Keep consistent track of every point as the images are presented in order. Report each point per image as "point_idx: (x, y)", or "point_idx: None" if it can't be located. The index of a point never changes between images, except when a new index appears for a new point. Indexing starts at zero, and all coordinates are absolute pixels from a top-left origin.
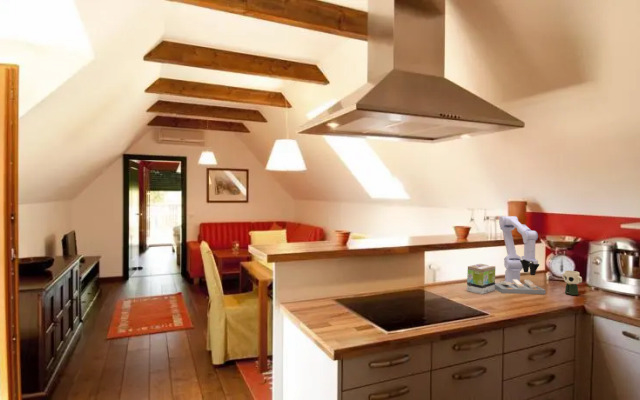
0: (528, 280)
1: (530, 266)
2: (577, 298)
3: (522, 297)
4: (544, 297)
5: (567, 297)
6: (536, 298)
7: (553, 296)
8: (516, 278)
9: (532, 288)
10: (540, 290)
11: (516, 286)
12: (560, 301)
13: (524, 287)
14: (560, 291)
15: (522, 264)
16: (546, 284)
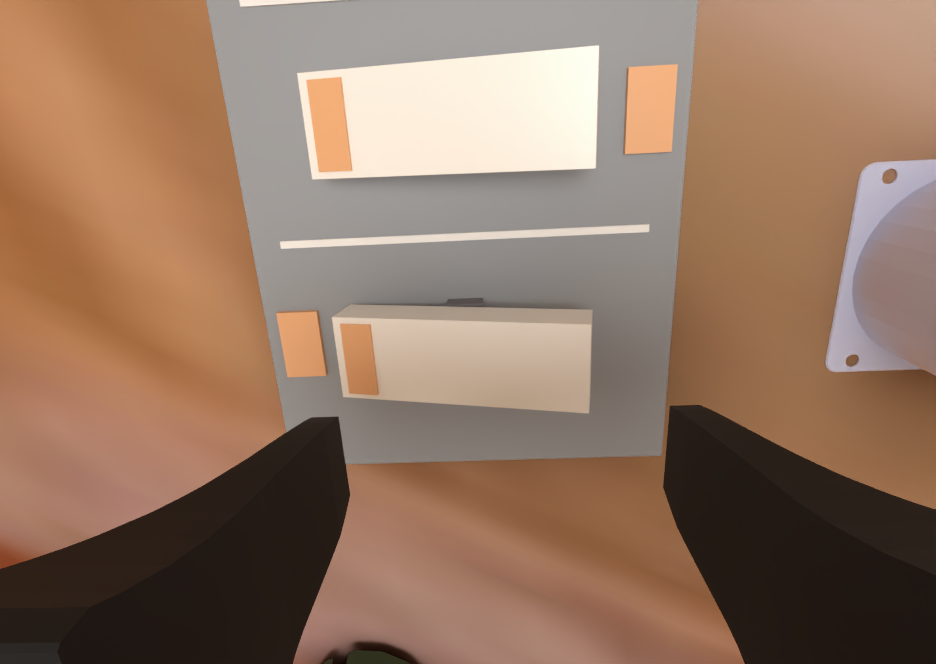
0: (550, 380)
1: (37, 558)
2: None
3: (26, 11)
4: (146, 351)
5: None
6: (51, 218)
7: None
8: (931, 306)
9: (315, 311)
10: (283, 396)
11: None
12: (20, 450)
13: (382, 212)
14: (484, 645)
15: (855, 512)
16: None
